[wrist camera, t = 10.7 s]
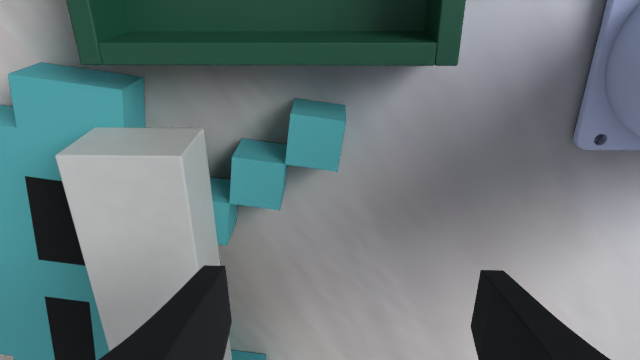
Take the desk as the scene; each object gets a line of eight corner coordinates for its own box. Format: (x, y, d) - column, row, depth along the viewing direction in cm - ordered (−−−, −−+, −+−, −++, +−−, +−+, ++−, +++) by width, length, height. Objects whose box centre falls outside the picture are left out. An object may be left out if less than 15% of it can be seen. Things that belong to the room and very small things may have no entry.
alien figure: (345, 105, 20) (-115, 40, 20) (345, 121, 18) (-167, 49, 18) (295, 410, 29) (-25, 370, 28) (292, 443, 27) (-53, 401, 26)
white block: (204, 127, 19) (181, 156, 16) (235, 388, 25) (223, 439, 22) (94, 127, 19) (53, 155, 16) (154, 386, 25) (132, 437, 23)
